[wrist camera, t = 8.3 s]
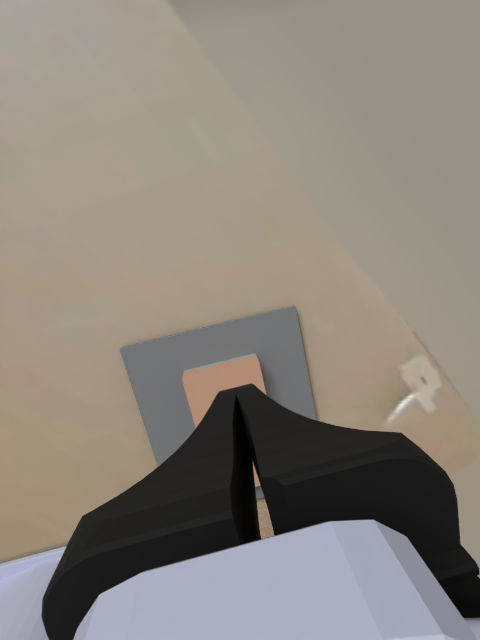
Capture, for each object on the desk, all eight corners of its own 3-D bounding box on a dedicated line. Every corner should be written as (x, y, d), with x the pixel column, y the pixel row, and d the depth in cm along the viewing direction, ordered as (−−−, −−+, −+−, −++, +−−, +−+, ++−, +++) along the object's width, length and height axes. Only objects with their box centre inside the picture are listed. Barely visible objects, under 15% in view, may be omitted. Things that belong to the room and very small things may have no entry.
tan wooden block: (280, 463, 23) (215, 480, 23) (255, 353, 21) (184, 370, 21) (285, 479, 22) (215, 497, 21) (259, 361, 20) (182, 379, 19)
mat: (176, 516, 24) (175, 520, 23) (121, 347, 21) (119, 348, 20) (325, 476, 24) (327, 480, 24) (294, 306, 21) (295, 306, 21)
